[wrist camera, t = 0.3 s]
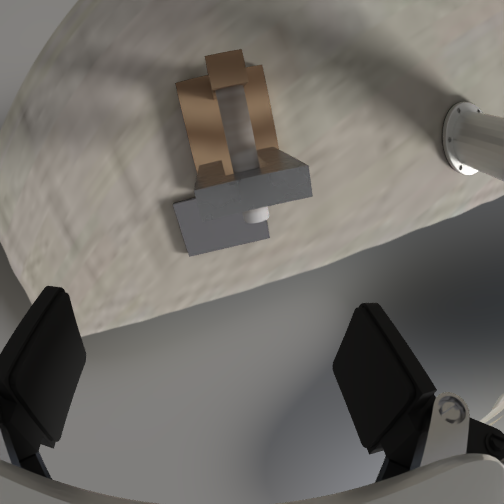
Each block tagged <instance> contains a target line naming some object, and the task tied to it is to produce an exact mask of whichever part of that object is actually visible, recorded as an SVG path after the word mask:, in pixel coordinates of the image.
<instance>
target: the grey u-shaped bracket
mask: <svg viewBox="0 0 504 504" xmlns="http://www.w3.org/2000/svg"><path fill="white" fill-rule="evenodd" d="M257 155H258V160H259V165H260V168H257V169H252V170H248V171H243V172H239V173H234V174H230V175H225V171H224V168H223V164H222V160H219V161H215V162H211V163H207V164H203V165H199V168H198V173H197V178H196V183H195V188H194V193H195V196H196V200H197V204H198V207H199V211H200V215H201V218H202V222H204V221H208V220H212V219H216V218H220V217H224V216H228V215H232V214H236V213H241V212H245V211H249V210H253V209H258V208H262V207H267V206H271V205H275V204H280V203H284V202H289V201H294V200H298V199H303V198H308V197H312V188H311V181H310V173H309V166H308V165H307V164H305V163H303V162H301V161H299V160H298V159H296V158H294V157H292V156H290V155H288V154H286V153H285V152H283V151H281V150H279V149H277V148H275V147H269V148H264V149H259V150H257Z"/></svg>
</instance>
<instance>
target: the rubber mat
mask: <svg viewBox="0 0 504 504" xmlns="http://www.w3.org/2000/svg"><path fill="white" fill-rule="evenodd" d="M173 206H174V210H175V213H176V216H177V220H178V223H179V226H180V229H181V232H182V235H183V239H184V242H185V245H186V248H187V251H188V254H189V257H190V256H194V255H199V254H203V253H207V252H211V251H216V250H220V249H224V248H229V247H233V246H237V245H242V244H246V243H250V242H255V241H259V240H263V239H268V238H270V236H269V231H268V225H267V220H265V221H262V222H259V223H246V222H245V221H244V217H243V213H242V212H241V213H236V214H232V215H228V216H224V217H220V218H216V219H212V220H208V221H204V222H202V218H201V215H200V211H199V207H198V204H197V200H196V198H192V199H188V200H184V201H180V202H177V203H174V204H173Z"/></svg>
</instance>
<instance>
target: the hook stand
mask: <svg viewBox="0 0 504 504" xmlns="http://www.w3.org/2000/svg"><path fill="white" fill-rule="evenodd" d="M205 60H206V65H207V70H208V75H205V76H201V77H197V78H193V79H189V80H185V81H181V82H178V83H175V84H176V88H177V92H178V97H179V101H180V105H181V110H182V114H183V118H184V122H185V126H186V131H187V135H188V139H189V143H190V147H191V151H192V155H193V159H194V163H195V167H196V171H197V173H198V168H199V165H203V164H207V163H211V162H215V161H219V160H222V164H223V168H224V171H225V175H230V174H234V173H239V172H243V171H248V170H252V169H257V168H260V165H259V160H258V155H257V150H259V149H264V148H269V147H275V148H277V149H279V148H278V142H277V137H276V131H275V126H274V121H273V116H272V111H271V106H270V101H269V96H268V91H267V86H266V81H265V76H264V72H263V67H262V65H258V66H252V67H245V62H244V58H243V53H242V49H239V50H234V51H228V52H223V53H218V54H213V55H208V56H205ZM242 213H243V217H244V221H245V222H246V223H259V222H262V221H265V220H266V219H268V218H269V212H268V207H262V208H258V209H253V210H249V211H245V212H242Z"/></svg>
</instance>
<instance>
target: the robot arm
mask: <svg viewBox="0 0 504 504" xmlns="http://www.w3.org/2000/svg"><path fill="white" fill-rule="evenodd" d="M443 146H444V151H445V155H446V157H447V160H448V162H449V163H450V165H451V166H452V167H453V169H454V170H456V171H457V172H459V173H461V174H464V175H472V174H475V173H476V172H478V171H480V172H483V173H485V174H488V175H490V176H493V177H495V178H497V179H500V180H502V181H504V118H502V117H498V116H493V115H488V114H483V112H482V111H481V110H480V108H478V107H477V106H476V105H475V104H473V103H470V102H459V103H457V104H455V105H454V106H453V107H452V108H451V109H450V110H449V112H448V113H447V116H446V118H445V122H444V126H443ZM85 362H86V352H85V349H84V346H83V343H82V339H81V336H80V333H79V330H78V326H77V323H76V320H75V316H74V312H73V309H72V305H71V301H70V297H69V295H68V293H65V290H64V289H63V288H61V287H53V286H46V287H45V288H44V290H43V291H42V292H41V294H40V295H39V296H38V298H37V299H36V301H35V302H34V303H33V305H32V306H31V308H30V309H29V310H28V312H27V314H26V315H25V316H24V318H23V319H22V321H21V322H20V324H19V325H18V327H17V328H16V330H15V331H14V333H13V334H12V336H11V338H10V339H9V341H8V343H7V344H6V346H5V347H4V349H3V351H2V352H1V354H0V504H157V503H149V502H141V501H136V500H130V499H124V498H119V497H114V496H109V495H105V494H100V493H96V492H92V491H88V490H85V489H81V488H77V487H74V486H71V485H68V484H64V483H61V482H58V481H55V480H52V478H51V476H50V474H49V472H48V470H47V468H46V466H45V464H44V462H43V460H42V457H41V455H40V453H39V447H40V444H42V445H45V446H48V447H51V448H54V446H55V442H57V441H59V440H60V438H61V435H62V431H63V428H64V424H65V421H66V417H67V414H68V411H69V407H70V405H71V402H72V398H73V395H74V393H75V390H76V387H77V384H78V381H79V378H80V375H81V372H82V370H83V367H84V365H85ZM333 372H334V375H335V377H336V379H337V382H338V385H339V387H340V390H341V392H342V395H343V397H344V400H345V402H346V405H347V407H348V410H349V412H350V415H351V418H352V420H353V422H354V425H355V428H356V430H357V433H358V436H359V438H360V441H361V443H362V445H363V447H365V448H367V450H368V452H369V454H373V453H376V452H379V451H383V450H384V452H385V455H386V456H385V459H384V462H383V465H382V467H381V469H380V471H379V474H378V476H377V479H376V481H375V483H373V484H369V485H366V486H363V487H359V488H356V489H352V490H348V491H344V492H340V493H336V494H331V495H327V496H322V497H317V498H311V499H306V500H299V501H294V502H285V503H278V504H504V434H503V433H502V432H501V431H500V430H498V429H496V428H494V427H492V426H489V425H486V424H484V423H482V422H479V421H477V420H474V419H472V418H470V417H469V416H470V414H469V409H468V406H467V405H466V403H465V402H464V400H463V399H462V398H460V397H459V396H458V395H456V394H454V393H450V392H445V393H442V394H439V395H438V396H437V397H435V396H434V393H435V392H436V390H437V389H436V388H435V386H434V385H433V383H432V381H431V380H430V378H429V376H428V375H427V373H426V372H425V370H424V369H423V367H422V366H421V364H420V363H419V361H418V359H417V358H416V357H415V355H414V353H413V352H412V350H411V349H410V348H409V346H408V345H407V343H406V342H405V340H404V339H403V337H402V336H401V334H400V333H399V331H398V330H397V329H396V327H395V326H394V324H393V323H392V321H391V320H390V319H389V317H388V316H387V314H386V313H385V312H384V311H383V309H382V307H381V306H380V305H379V304H378V303H362V304H361V305H360V306H359V307H358V308H356V309H355V311H354V313H353V316H352V319H351V321H350V323H349V326H348V328H347V331H346V333H345V336H344V338H343V341H342V343H341V345H340V348H339V350H338V352H337V355H336V357H335V359H334V362H333Z"/></svg>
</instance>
